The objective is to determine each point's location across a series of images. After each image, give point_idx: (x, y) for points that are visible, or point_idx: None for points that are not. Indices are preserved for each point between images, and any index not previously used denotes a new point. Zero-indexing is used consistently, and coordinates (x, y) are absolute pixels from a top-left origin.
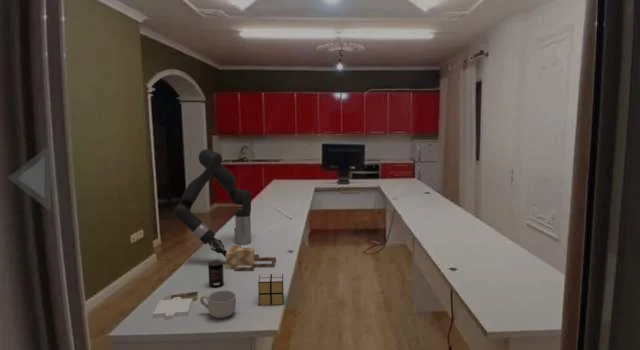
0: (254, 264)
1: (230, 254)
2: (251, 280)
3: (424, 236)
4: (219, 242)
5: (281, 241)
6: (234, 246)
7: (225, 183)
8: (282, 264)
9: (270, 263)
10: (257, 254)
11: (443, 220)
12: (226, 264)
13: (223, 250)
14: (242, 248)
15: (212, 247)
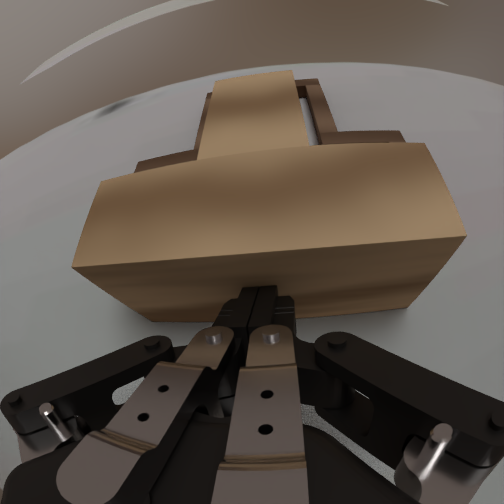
0: (336, 132)
1: (443, 191)
2: (497, 143)
3: (129, 25)
4: (137, 414)
5: (13, 173)
6: (128, 221)
7: None
8: None
9: (305, 87)
10: (137, 166)
11: (76, 45)
12: (420, 288)
13: (283, 332)
14: (224, 130)
15: (494, 466)
